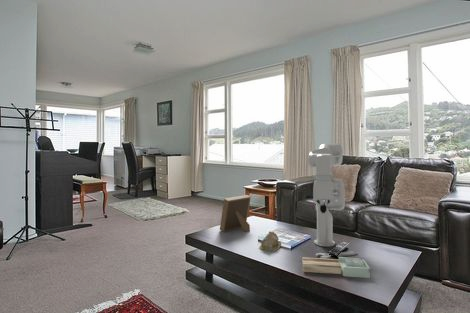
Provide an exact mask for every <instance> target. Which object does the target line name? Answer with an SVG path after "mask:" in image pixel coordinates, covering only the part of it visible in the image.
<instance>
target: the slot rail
mask: <svg viewBox="0 0 470 313" xmlns="http://www.w3.org/2000/svg"><path fill="white" fill-rule="evenodd" d="M301 260H302V261H301V265H302V271H303V273H304V272H305V273H316V274H317V273H321V274H335V275H342V272H341V265H340V264H339V260H338V259H336V258H329V259H324V258H320V257H319V258H318V257H303V256H302V259H301Z"/></svg>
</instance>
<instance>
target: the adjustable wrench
mask: <svg viewBox="0 0 470 313" xmlns="http://www.w3.org/2000/svg"><path fill="white" fill-rule="evenodd" d="M339 253H340V252H339ZM329 254H330V253H324V252H317V253H315V258H318V257H319V258H324V259H331V258H332V257H331V255H329ZM356 255H358V251H355V250H354V251H353V250H351V251H343V252H341V253H340V254H339V255H338V256H337V257H347V256H356Z"/></svg>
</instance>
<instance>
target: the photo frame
mask: <svg viewBox="0 0 470 313" xmlns="http://www.w3.org/2000/svg"><path fill="white" fill-rule="evenodd" d="M251 199H252V196H250V195H248V194H244V195H242V194H241V195H237V196H231V197H224V198H223V205H222V212H221V217H220V218H221V219H220V223H219V224H220V225H219V231H221V232H222V233H226V232H229V231H233V230H237V229H241V228H242V230H243V232H250V231H251V228H250V227H251V226H250V223H249V222H248V221H247V220H248V215H249V208H250V203H251Z"/></svg>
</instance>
